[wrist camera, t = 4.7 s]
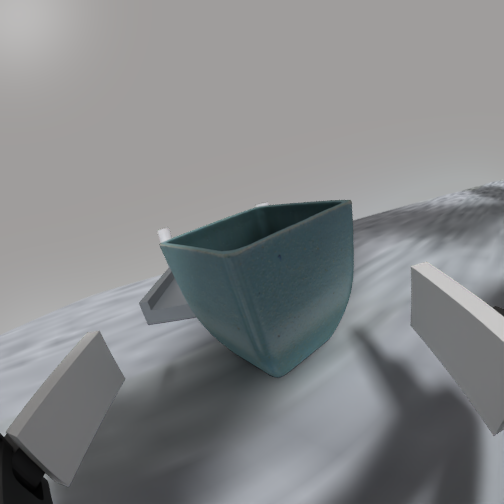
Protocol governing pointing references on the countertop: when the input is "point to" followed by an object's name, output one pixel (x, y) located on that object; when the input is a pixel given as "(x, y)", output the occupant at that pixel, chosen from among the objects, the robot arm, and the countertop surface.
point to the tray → (167, 294)
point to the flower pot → (269, 279)
